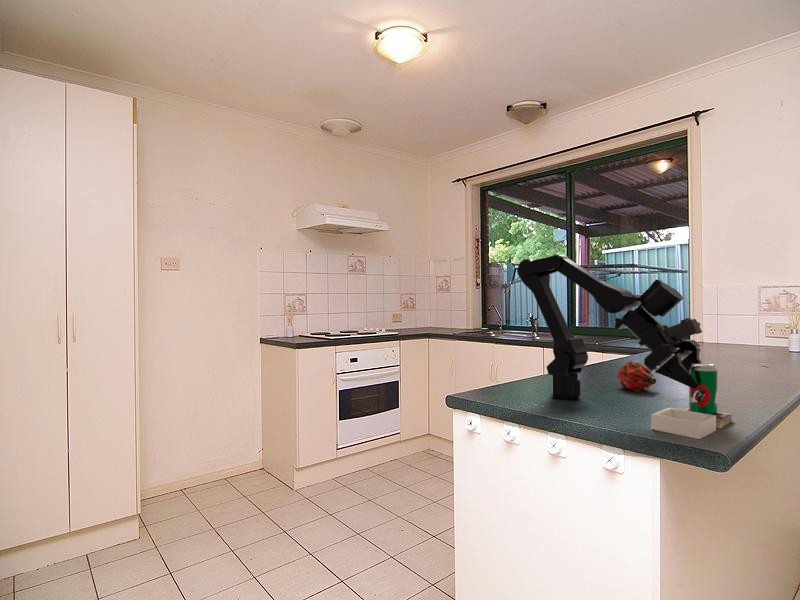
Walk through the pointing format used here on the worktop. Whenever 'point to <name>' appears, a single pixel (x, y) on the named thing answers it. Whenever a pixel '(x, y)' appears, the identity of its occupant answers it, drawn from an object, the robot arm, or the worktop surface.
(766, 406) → the worktop surface
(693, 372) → the soda can
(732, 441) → the worktop surface
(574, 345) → the robot arm
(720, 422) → the checker cradle
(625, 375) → the dragon fruit
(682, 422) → the bin
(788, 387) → the worktop surface
